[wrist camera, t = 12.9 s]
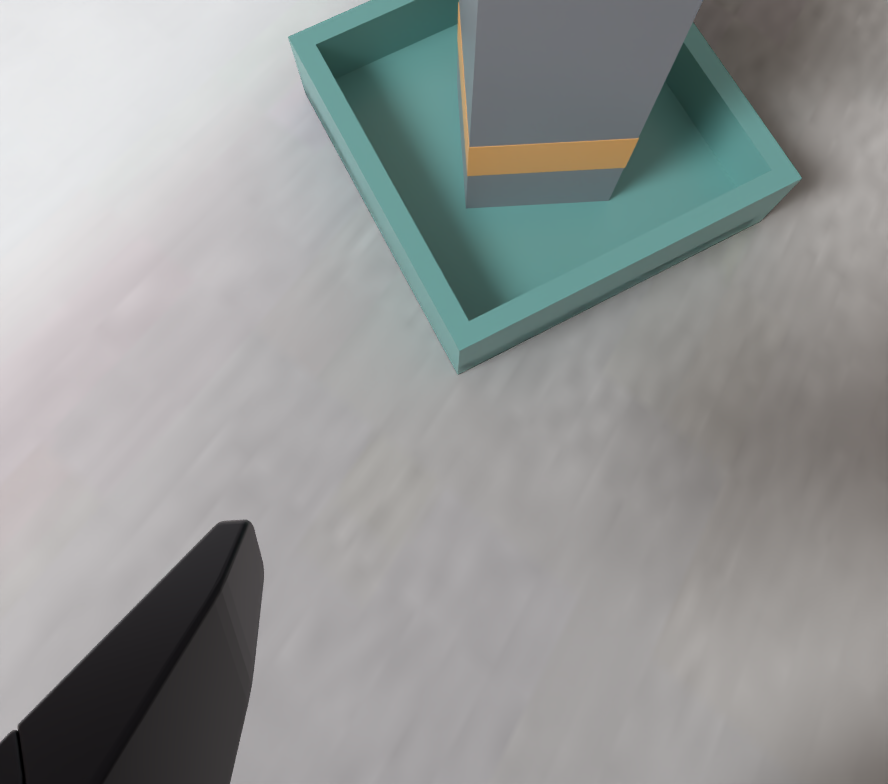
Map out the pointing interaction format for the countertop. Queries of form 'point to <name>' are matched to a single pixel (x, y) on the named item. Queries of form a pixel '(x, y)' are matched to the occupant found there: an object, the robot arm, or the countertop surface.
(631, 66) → the gray rectangular block
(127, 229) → the countertop surface
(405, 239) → the tray
